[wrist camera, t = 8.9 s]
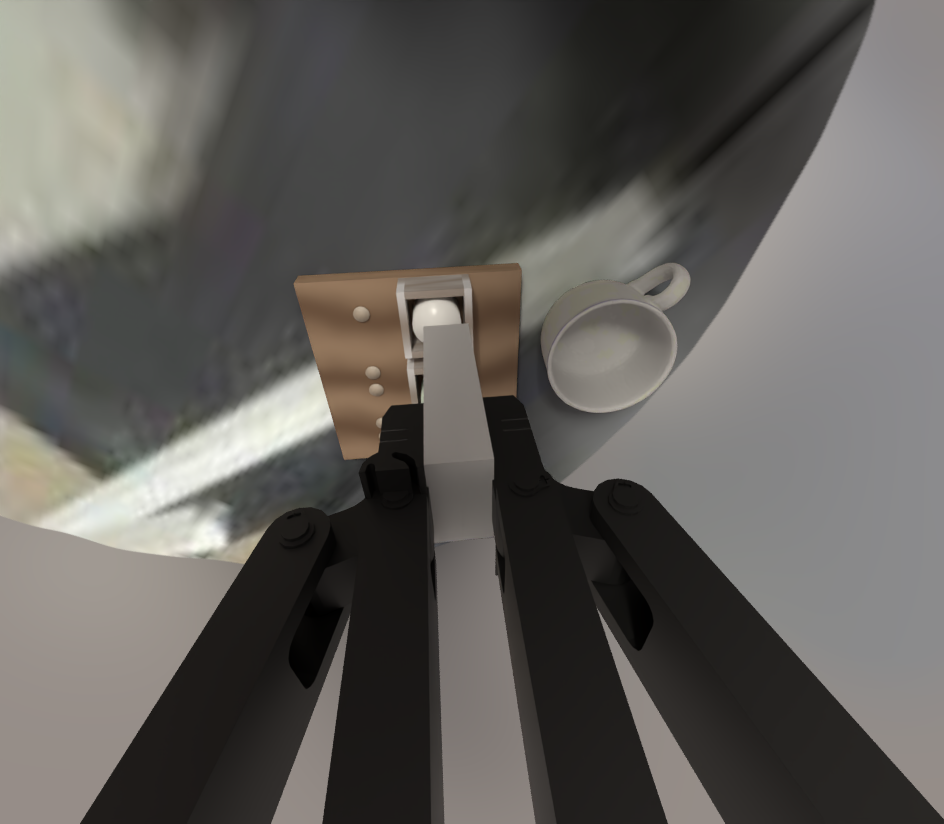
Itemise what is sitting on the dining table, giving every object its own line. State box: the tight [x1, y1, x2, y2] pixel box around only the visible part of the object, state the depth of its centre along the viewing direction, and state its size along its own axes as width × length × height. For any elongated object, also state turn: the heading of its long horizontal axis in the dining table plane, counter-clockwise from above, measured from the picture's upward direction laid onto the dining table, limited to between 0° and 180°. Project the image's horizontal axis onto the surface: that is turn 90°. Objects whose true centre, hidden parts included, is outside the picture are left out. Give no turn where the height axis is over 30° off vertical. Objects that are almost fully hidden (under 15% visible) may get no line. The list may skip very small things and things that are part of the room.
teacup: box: [541, 263, 690, 413], centre depth 38 cm, size 14×11×8 cm
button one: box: [412, 297, 461, 342], centre depth 36 cm, size 4×4×3 cm
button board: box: [294, 263, 522, 460], centre depth 41 cm, size 20×19×5 cm
